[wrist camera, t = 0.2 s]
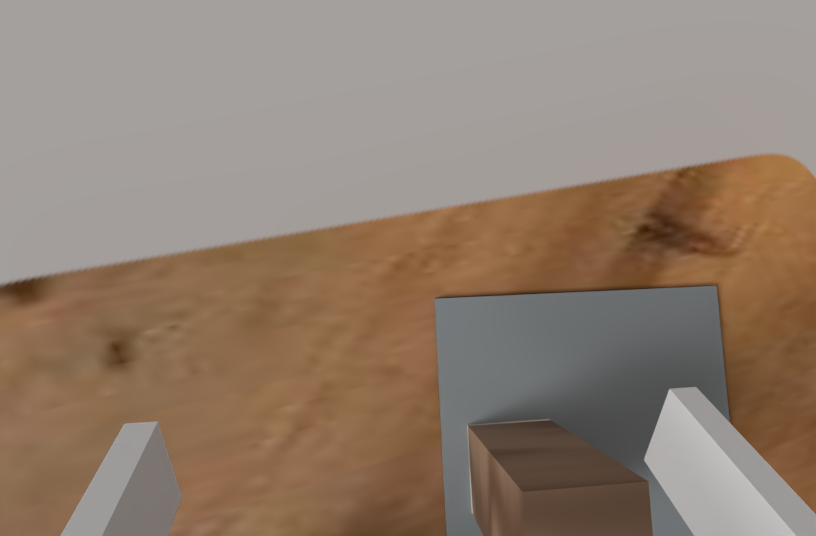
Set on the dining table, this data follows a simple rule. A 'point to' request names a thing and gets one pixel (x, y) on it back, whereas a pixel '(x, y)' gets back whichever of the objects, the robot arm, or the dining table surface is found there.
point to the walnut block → (551, 484)
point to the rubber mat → (574, 375)
